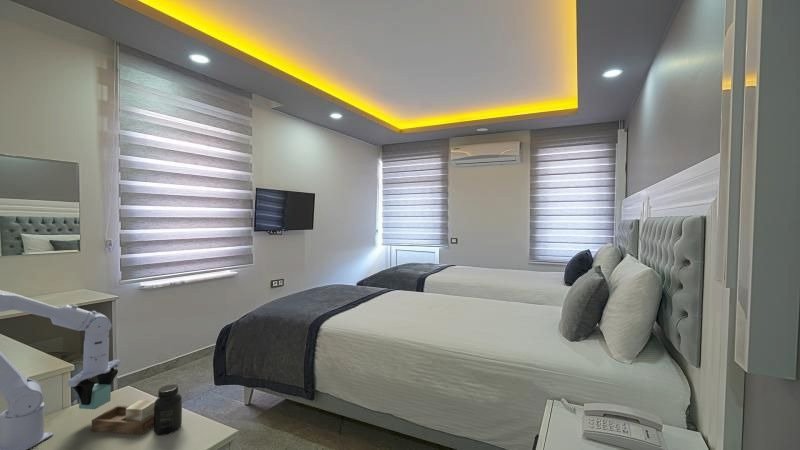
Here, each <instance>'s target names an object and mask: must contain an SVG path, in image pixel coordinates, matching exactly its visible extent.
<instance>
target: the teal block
mask: <svg viewBox="0 0 800 450" xmlns="http://www.w3.org/2000/svg"><path fill="white" fill-rule="evenodd" d="M111 389H112V384H111V385H109V384H99V383H95V384H94V387H93V390H92V396H91V403H90V404H89V405H82V404H81V401H80V398H79V400H78V409H84V410H97V409H99V408H100V407H101V406H103V405H106V404H107V403H109V402H111V394H112V393H111V391H112V390H111Z"/></svg>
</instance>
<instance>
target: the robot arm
mask: <svg viewBox="0 0 800 450" xmlns="http://www.w3.org/2000/svg"><path fill="white" fill-rule="evenodd" d="M8 311H19V312H23V313H26V314H31V315H35V316H39V317H43V318H48V319H50V322H51V323H52V325H55V326H59V327H63V328H67V329H70V330H74V331H77V332H78V331H79V332H80V331H85V332H84V341H83V356H82V357H83V360H82V362H83V363H82V364H83V365H82V370H81V372H79V373H77V374H76V375H74V376H73V377H71V378H68V379H67V387H68V388H69V387H70V388H71V387H72V389H74V391H75V392H76V394H77V395H78V397H79V398H80V401H81V404H82V405H89V404H90V403H91V396H92V390H93V387H94V384H96V381H91V380H90V379H92V378H95V377H97V381H98V384H109V385H111V386H112V384H113V381H114V379H115V378H116V376H117V375H118V374H119V370H118V369H116V368H119V367H121V359H113V360H110V361H109V353H110V350H109V349H110V348H109V347H110V337H109V335H110V330H111V329H112V326H113V324H112V322H111V320H110V319H109V318H108V316H106V315H105V314H103V313H101V312H97V311H96V310H92V311H91V310H90V311H89V310H86V309H83V308H80V307H79V305H77V304H73V303H72V304H70V305H69V304H64V305H62V306H56V305H52V304H48V303H46V302H43V301H40V300H36V299H33V298H30V297H27V296H25V295H21V294H17V293H14V292H11V291H6V290H1V289H0V313H4V312H8ZM0 394H1V396H2V398H3V399H4V400H5V401H6V402H7V409H5V410H4V411H2V412H1V413H0V450H28V449H30V448H33V447H34V446H36V445H37V444H39V443H41V442H44V441H45V440H47V439H49V438H50V437H52V436H53V435H54V433H53V432H45V402H44V394H43V392H42V384H41V383H40V382H39V381H38V380H36V379H35V380H34V379H31V378H29V377H28V376H27V375H26V374H24V373H23V372H21V371H20V370H19V369H18V368H17V367H16V365H14V364H13V362H11V361H10V359H9V358H8V357H7V356H6V354H4V353H3V352H2V351H1V350H0Z"/></svg>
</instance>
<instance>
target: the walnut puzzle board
mask: <svg viewBox="0 0 800 450" xmlns="http://www.w3.org/2000/svg"><path fill="white" fill-rule="evenodd" d="M155 401H156V400H149V399H147V400H146V399H139V400H138V401H136V402H135V403H133V404H131V405H118V404H117V405H116V406H113V407H112V408H110V409H109V410H107V411H105V412H104V413H102V414H100V415H98V416H96V417H95V418H93V419H92V420H91V431H93V432H103V433H104V432H105V433H106V432H107V433H118V434H119V433H120V434H121V433H123V434H135V435H143V434H145V433H146V432H147V431H149V430H150V429H152V427H153V428H154V403H155Z"/></svg>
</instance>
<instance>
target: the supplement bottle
mask: <svg viewBox="0 0 800 450" xmlns="http://www.w3.org/2000/svg"><path fill="white" fill-rule="evenodd" d="M154 401H155V403H154V426H153V433H154V434H155V435H158V436H164V435H165V436H166V435H169V434H173V433H175V432H176V431H178V430H179V429H180V428H181V426H182V425H183V424H182V422H183V421H182V420H183V418H182V417H183V397H182V395H181V394H180V393H179V385H178V384H174V383H173V384H168V385H164V386H161V387H160V388H159V389H158V394H157V398H156V400H154Z"/></svg>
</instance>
